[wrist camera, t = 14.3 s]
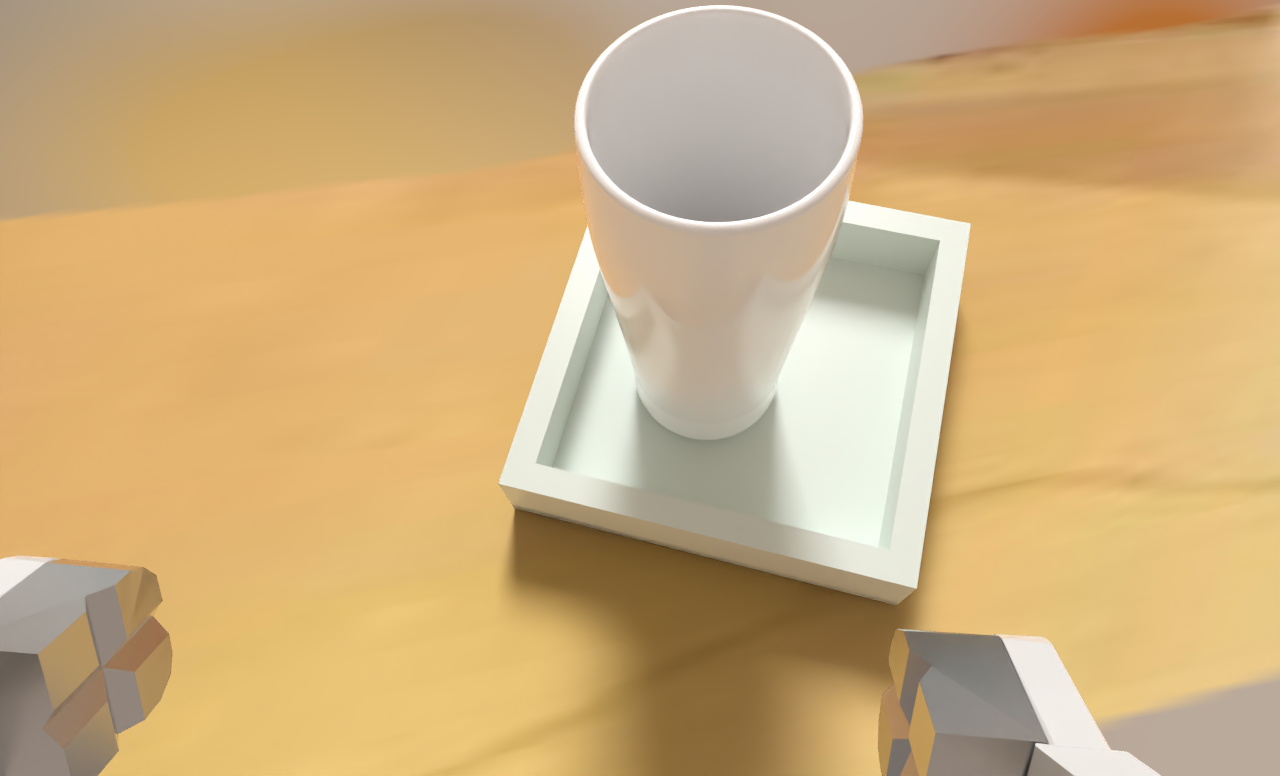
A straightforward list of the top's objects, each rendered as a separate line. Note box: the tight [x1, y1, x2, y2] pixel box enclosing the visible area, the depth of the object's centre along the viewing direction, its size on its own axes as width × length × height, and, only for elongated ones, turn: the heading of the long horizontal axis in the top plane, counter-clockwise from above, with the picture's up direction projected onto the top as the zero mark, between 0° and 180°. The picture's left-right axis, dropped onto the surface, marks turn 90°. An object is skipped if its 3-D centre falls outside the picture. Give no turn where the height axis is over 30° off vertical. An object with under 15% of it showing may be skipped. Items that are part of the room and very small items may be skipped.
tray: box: [498, 201, 971, 606], centre depth 33 cm, size 14×14×3 cm
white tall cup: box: [574, 5, 863, 441], centre depth 27 cm, size 7×7×15 cm
